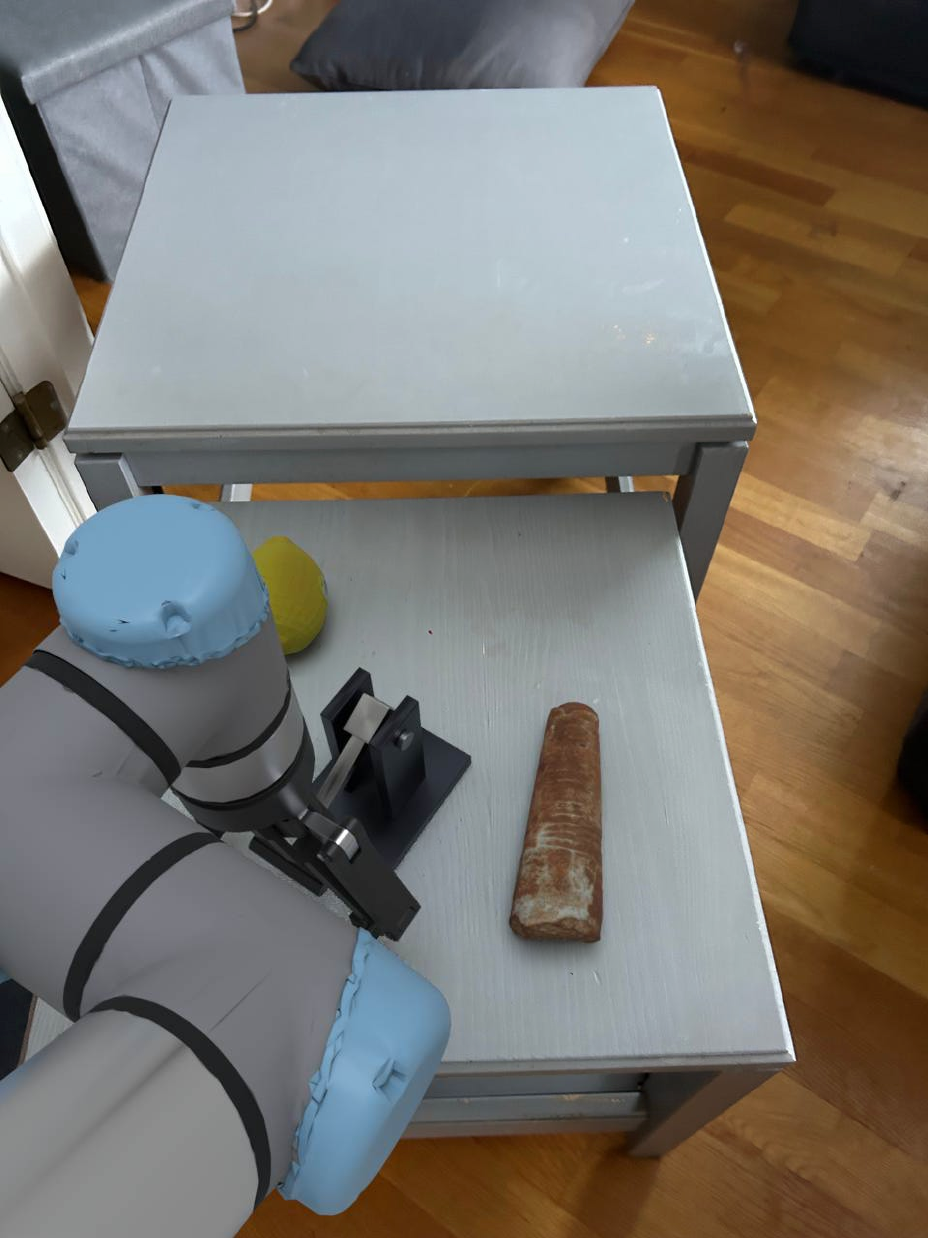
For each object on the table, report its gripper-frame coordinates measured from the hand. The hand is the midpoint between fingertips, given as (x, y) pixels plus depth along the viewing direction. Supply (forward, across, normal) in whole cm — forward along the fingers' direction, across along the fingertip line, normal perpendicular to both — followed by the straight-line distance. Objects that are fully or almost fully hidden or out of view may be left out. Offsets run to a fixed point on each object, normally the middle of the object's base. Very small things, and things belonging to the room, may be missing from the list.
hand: (297, 877), depth 66 cm
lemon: (+4, +16, -18) cm, 24 cm away
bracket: (+3, 0, -10) cm, 10 cm away
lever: (-4, 0, -6) cm, 7 cm away
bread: (+4, -13, -14) cm, 20 cm away
